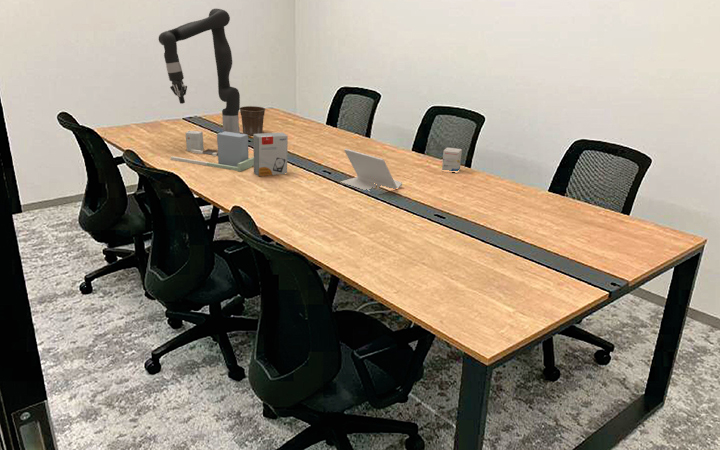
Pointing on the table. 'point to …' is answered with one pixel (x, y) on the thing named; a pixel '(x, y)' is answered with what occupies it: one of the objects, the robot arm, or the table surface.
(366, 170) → the tablet stand
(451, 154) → the ink box
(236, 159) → the block
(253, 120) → the plant pot
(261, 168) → the hard drive box
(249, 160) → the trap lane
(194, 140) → the small box
